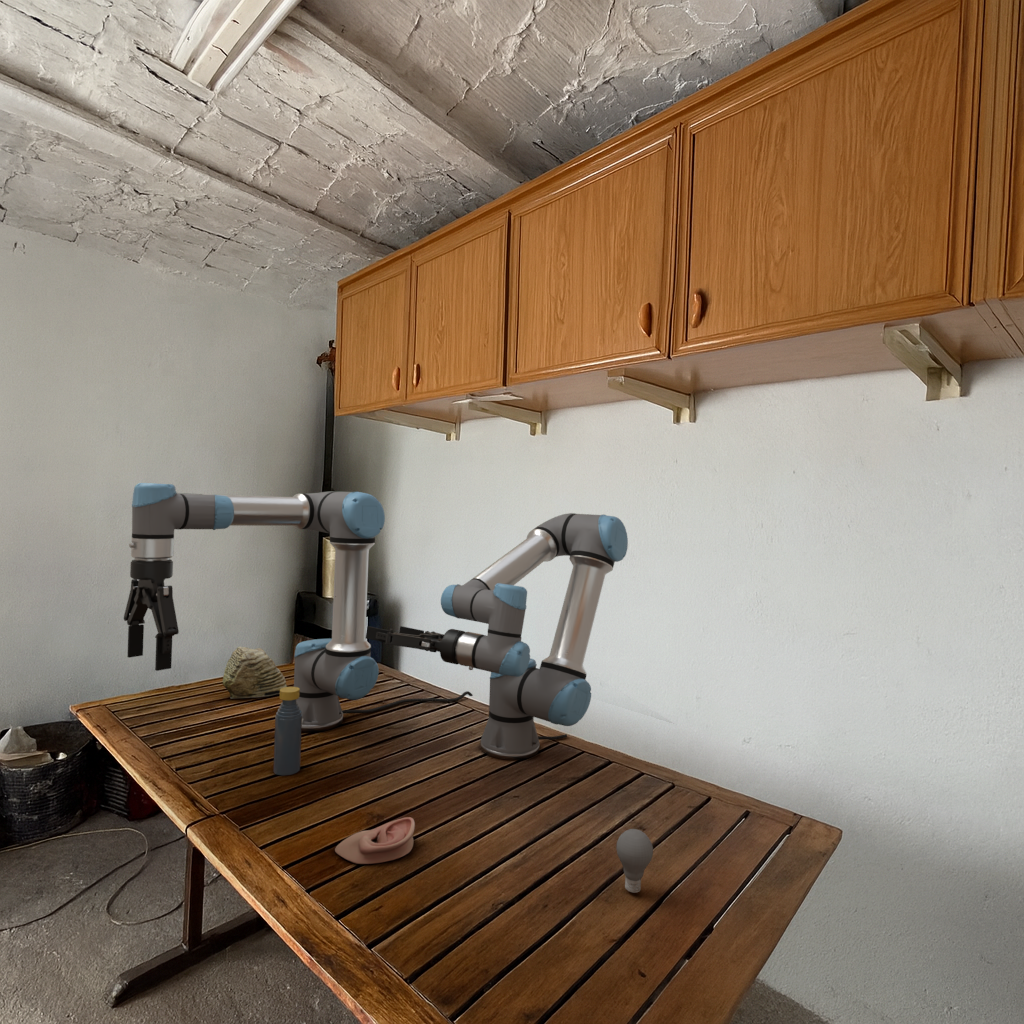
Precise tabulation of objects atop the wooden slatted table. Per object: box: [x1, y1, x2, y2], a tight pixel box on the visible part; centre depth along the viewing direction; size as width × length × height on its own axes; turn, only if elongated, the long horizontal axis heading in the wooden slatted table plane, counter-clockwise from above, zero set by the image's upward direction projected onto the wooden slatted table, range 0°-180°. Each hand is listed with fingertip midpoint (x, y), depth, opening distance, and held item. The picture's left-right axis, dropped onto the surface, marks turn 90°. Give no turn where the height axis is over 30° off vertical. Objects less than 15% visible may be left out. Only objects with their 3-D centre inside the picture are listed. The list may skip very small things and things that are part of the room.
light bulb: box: [615, 828, 654, 894], centre depth 106 cm, size 6×6×10 cm
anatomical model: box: [334, 816, 416, 865], centre depth 115 cm, size 13×4×12 cm
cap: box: [279, 686, 300, 701], centre depth 146 cm, size 4×4×2 cm
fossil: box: [222, 646, 288, 699], centre depth 198 cm, size 9×18×15 cm, turn 132°
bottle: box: [272, 699, 303, 776], centre depth 146 cm, size 6×6×18 cm
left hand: (148, 662), depth 129 cm, fingers open, 13 cm apart
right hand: (384, 632), depth 151 cm, fingers open, 13 cm apart
